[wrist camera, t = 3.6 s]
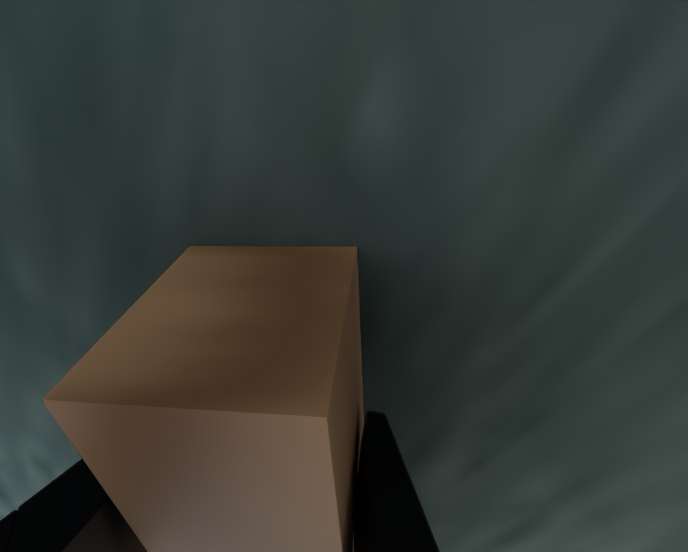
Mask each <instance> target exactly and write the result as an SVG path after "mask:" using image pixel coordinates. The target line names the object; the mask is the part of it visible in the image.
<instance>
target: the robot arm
mask: <svg viewBox="0 0 688 552" xmlns="http://www.w3.org/2000/svg"><path fill="white" fill-rule="evenodd" d="M0 552H147V550H146V549H145V547H144V546H143V544H142V543H141V541H140V540H139V539H138V537H137V536H136V534H135V533H134V531H133V530H132V529H131V527H130V526H129V524H128V523H127V521H126V520H125V519H124V517H123V516H122V514H121V513H120V511H119V510H118V509H117V507H116V506H115V504H114V503H113V501H112V500H111V499H110V497H109V496H108V494H107V493H106V491H105V490H104V489H103V487H102V486H101V484H100V483H99V481H98V480H97V479H96V477H95V476H94V474H93V473H92V471H91V470H90V469H89V467H88V466H87V464H86V463H85V461H84V460H83V459H81V460H80V461H78V462H77V463H76V464H74V465H73V466H72V467H70V468H69V469H68V470H66V471H65V472H64V473H63V474H61V475H60V476H59V477H57V478H56V479H55V480H53V481H52V482H51V483H49V484H48V485H47V486H45V487H44V488H43V489H42V490H40V491H39V492H38V493H36V494H35V495H34V496H32V497H31V498H30V499H28V500H27V501H26V502H24V503H23V504H22V505H21V506H19V508H18V511H17V510H14V511H12V512H11V513H10V514H8V515H7V516H6V517H5V518H3V519H2V520H1V521H0ZM354 552H440V551H439V549H438V546H437V544H436V541H435V539H434V536H433V534H432V531H431V529H430V526H429V524H428V521H427V519H426V516H425V513H424V511H423V508H422V506H421V503H420V501H419V498H418V496H417V493H416V491H415V488H414V486H413V483H412V481H411V478H410V475H409V473H408V470H407V468H406V465H405V463H404V460H403V458H402V455H401V453H400V450H399V448H398V445H397V443H396V440H395V437H394V435H393V432H392V430H391V427H390V425H389V422H388V420H387V417H386V415H385V414H384V413H382V412H376V411H367V412H366V416H365V421H364V426H363V431H362V438H361V446H360V456H359V465H358V475H357V484H356V496H355V512H354Z"/></svg>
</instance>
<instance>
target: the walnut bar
mask: <svg viewBox="0 0 688 552" xmlns="http://www.w3.org/2000/svg"><path fill="white" fill-rule="evenodd" d="M41 400H42V401H43V403H44V404H45V406H46V407H47V409H48V410H49V411H50V413H51V414H52V416H53V417H54V419H55V420H56V421H57V423H58V424H59V426H60V427H61V429H62V430H63V431H64V433H65V434H66V436H67V437H68V439H69V440H70V441H71V443H72V444H73V446H74V447H75V449H76V450H77V451H78V453H79V454H80V456H81V457H82V459H83V460H84V461H85V463H86V464H87V466H88V467H89V469H90V470H91V471H92V473H93V474H94V476H95V477H96V479H97V480H98V481H99V483H100V484H101V486H102V487H103V489H104V490H105V491H106V493H107V494H108V496H109V497H110V499H111V500H112V501H113V503H114V504H115V506H116V507H117V509H118V510H119V511H120V513H121V514H122V516H123V517H124V519H125V520H126V521H127V523H128V524H129V526H130V527H131V529H132V530H133V531H134V533H135V534H136V536H137V537H138V539H139V540H140V541H141V543H142V544H143V546H144V547H145V549H146V550H147V551H148V552H354V512H355V496H356V484H357V475H358V465H359V456H360V446H361V438H362V431H363V426H364V413H363V387H362V361H361V334H360V308H359V282H358V256H357V247H326V246H189V247H188V248H187V249H186V250H185V251H184V252H183V253H182V255H181V256H180V257H179V258H178V259H177V260H176V261H175V262H174V263H173V264H172V265H171V266H170V267H169V268H168V269H167V270H166V271H165V272H164V273H163V274H162V275H161V276H160V277H159V278H158V279H157V280H156V281H155V282H154V284H153V285H152V286H151V287H150V288H149V289H148V290H147V291H146V292H145V293H144V294H143V295H142V296H141V297H140V298H139V299H138V300H137V301H136V302H135V303H134V304H133V305H132V306H131V307H130V308H129V309H128V310H127V311H126V312H125V314H124V315H123V316H122V317H121V318H120V319H119V320H118V321H117V322H116V323H115V324H114V325H113V326H112V327H111V328H110V329H109V330H108V331H107V332H106V333H105V334H104V335H103V336H102V337H101V338H100V339H99V340H98V341H97V343H96V344H95V345H94V346H93V347H92V348H91V349H90V350H89V351H88V352H87V353H86V354H85V355H84V356H83V357H82V358H81V359H80V360H79V361H78V362H77V363H76V364H75V365H74V366H73V367H72V368H71V369H70V370H69V371H68V373H67V374H66V375H65V376H64V377H63V378H62V379H61V380H60V381H59V382H58V383H57V384H56V385H55V386H54V387H53V388H52V389H51V390H50V391H49V392H48V393H47V394H46V395H45V396H44V397H43V398H42V399H41Z"/></svg>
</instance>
